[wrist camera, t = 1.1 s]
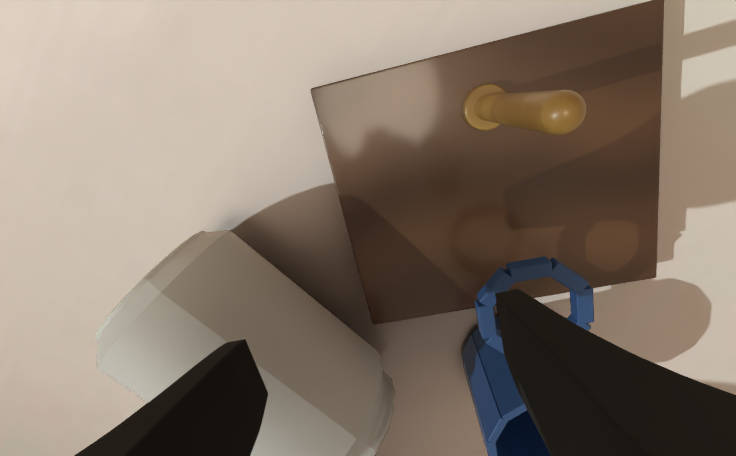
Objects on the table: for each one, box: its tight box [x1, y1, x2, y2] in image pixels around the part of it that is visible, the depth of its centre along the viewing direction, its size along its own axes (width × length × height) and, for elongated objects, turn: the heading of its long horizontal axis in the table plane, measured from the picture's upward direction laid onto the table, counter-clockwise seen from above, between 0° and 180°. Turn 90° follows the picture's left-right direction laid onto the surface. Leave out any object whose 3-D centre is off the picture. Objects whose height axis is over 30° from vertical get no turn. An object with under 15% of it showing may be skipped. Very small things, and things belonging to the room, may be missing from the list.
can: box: [95, 230, 395, 456], centre depth 17 cm, size 8×8×12 cm
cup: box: [462, 256, 594, 456], centre depth 17 cm, size 11×5×6 cm, turn 13°
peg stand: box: [311, 0, 664, 324], centre depth 13 cm, size 12×14×9 cm
